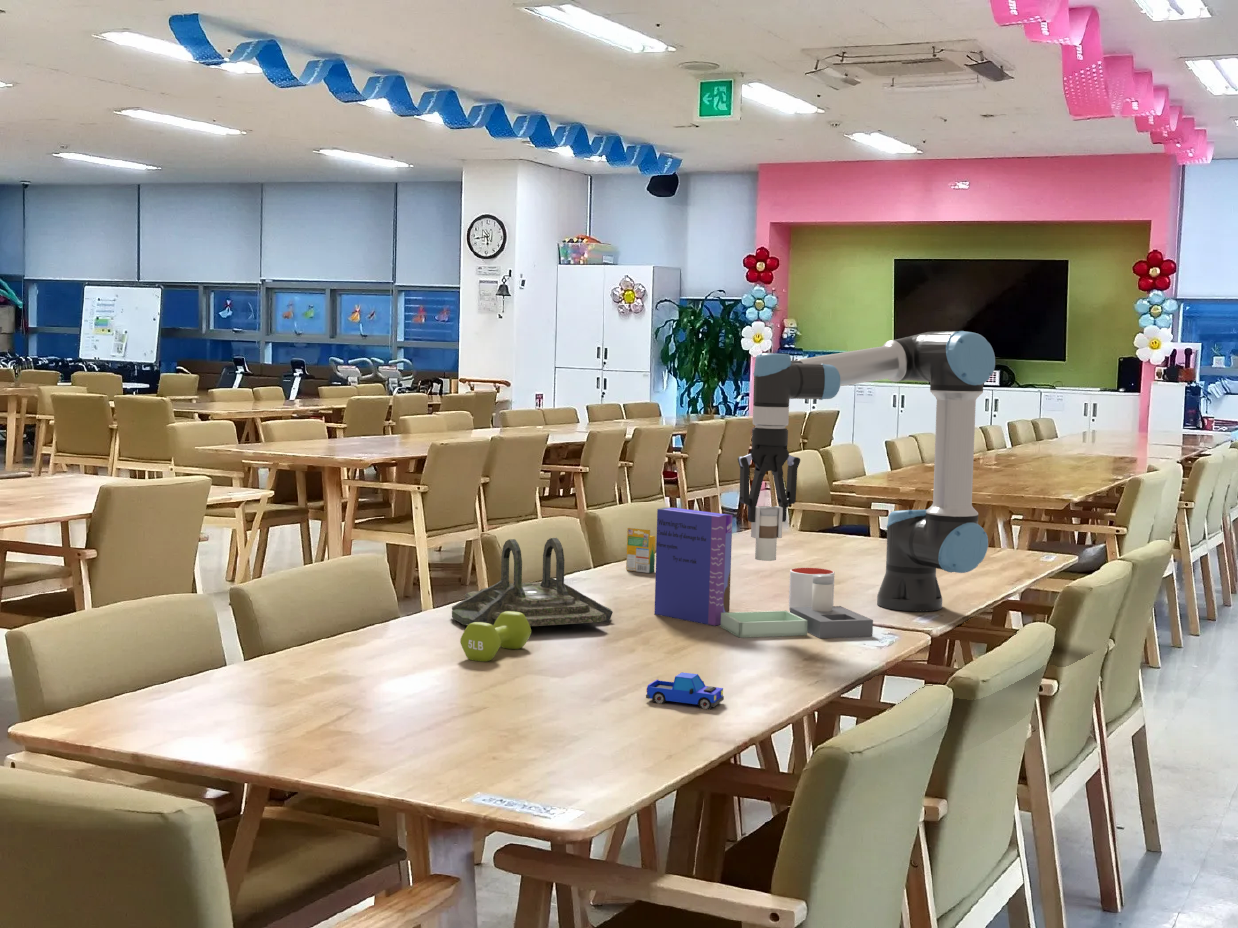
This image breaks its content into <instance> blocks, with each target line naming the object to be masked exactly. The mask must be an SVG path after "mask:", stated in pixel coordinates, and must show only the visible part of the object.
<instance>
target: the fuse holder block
mask: <svg viewBox="0 0 1238 928" xmlns="http://www.w3.org/2000/svg"><path fill="white" fill-rule="evenodd" d="M833 583H834V584H835V575H834V576H833V575H829V574H814V575H813V591H812V607H790V610H789V612H790V613H793V614H795V615H797V616H799V617H801V618H803V619H805V620H807V621H808V622H807V634H810V635H812V636H814V637H817V638H818V639H839V638H863V637H873V635H874V634H873V630H874V629H873V628H874V620H873V619H872V618H868V617H867V616H865V615H862V614H860V613H857V612H855V611H853V610H851V609H849V608H846V607H843V606H841V605H833V606H832V603H833V604H834V601H833Z"/></svg>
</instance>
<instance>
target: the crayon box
mask: <svg viewBox="0 0 1238 928" xmlns="http://www.w3.org/2000/svg"><path fill="white" fill-rule="evenodd" d="M626 531H627V532H626V533H627V535H626V561H625V562H626V567H625V569H626V570H627V572H635V573H636V572H637V573H644V574H645V573H646V574H651V573H655V566H656V536H655V535H651V529H645V528H644V529H643V528H633V527H627V530H626ZM638 531H639V532H641V533H640V534H638V533H636V532H638Z"/></svg>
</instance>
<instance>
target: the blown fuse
mask: <svg viewBox="0 0 1238 928" xmlns="http://www.w3.org/2000/svg"><path fill="white" fill-rule="evenodd" d="M758 507H760V524H759V538H755V550H754V551H755V555H754V557H755V558H754V559H755V560H756V561H762V562H767V561H768V562H771V561H776V560H777V547H778V546H777V544H778V543H777V542H778V541H777V539H778V538H777V519H778V508H777V507H775V506H767V505H766V506H765V505H764V506H762V505H761V506H758Z"/></svg>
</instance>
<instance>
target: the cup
mask: <svg viewBox="0 0 1238 928" xmlns="http://www.w3.org/2000/svg"><path fill="white" fill-rule="evenodd" d="M814 574H829V575H833V576H834V577H835V571H833V570H831V569H827V568H819V567H795V568H792V569H789V591H788V593H789V594H788V611H790V607H812V591H813V575H814ZM834 593H835V582H834V583H833V603H832V606H834V599H835V598H834V597H835V595H834Z"/></svg>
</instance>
